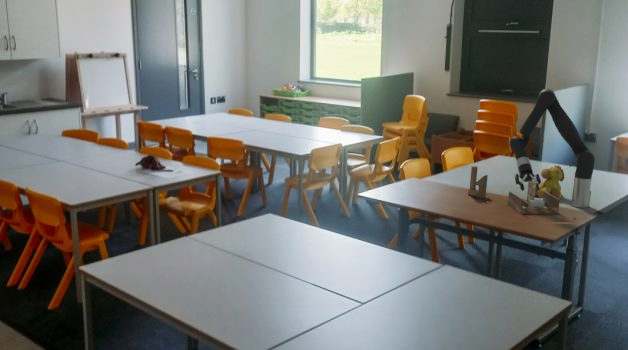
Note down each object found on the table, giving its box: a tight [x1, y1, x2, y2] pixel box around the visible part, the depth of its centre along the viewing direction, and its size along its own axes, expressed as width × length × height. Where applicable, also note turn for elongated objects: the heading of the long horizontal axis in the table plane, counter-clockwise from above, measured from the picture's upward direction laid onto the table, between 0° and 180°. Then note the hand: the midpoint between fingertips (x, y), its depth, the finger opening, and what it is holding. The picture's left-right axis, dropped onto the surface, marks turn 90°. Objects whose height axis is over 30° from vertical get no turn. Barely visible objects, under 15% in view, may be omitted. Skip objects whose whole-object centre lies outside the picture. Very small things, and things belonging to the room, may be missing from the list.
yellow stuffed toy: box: [534, 164, 569, 200], centre depth 409 cm, size 20×24×19 cm
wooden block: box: [467, 165, 488, 199], centre depth 403 cm, size 4×11×18 cm, turn 41°
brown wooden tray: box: [507, 190, 561, 215], centre depth 374 cm, size 22×18×9 cm
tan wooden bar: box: [525, 180, 536, 202], centre depth 377 cm, size 2×4×15 cm, turn 6°
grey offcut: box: [528, 199, 545, 207], centre depth 370 cm, size 8×3×3 cm, turn 96°
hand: (530, 190), depth 378 cm, fingers open, 8 cm apart
